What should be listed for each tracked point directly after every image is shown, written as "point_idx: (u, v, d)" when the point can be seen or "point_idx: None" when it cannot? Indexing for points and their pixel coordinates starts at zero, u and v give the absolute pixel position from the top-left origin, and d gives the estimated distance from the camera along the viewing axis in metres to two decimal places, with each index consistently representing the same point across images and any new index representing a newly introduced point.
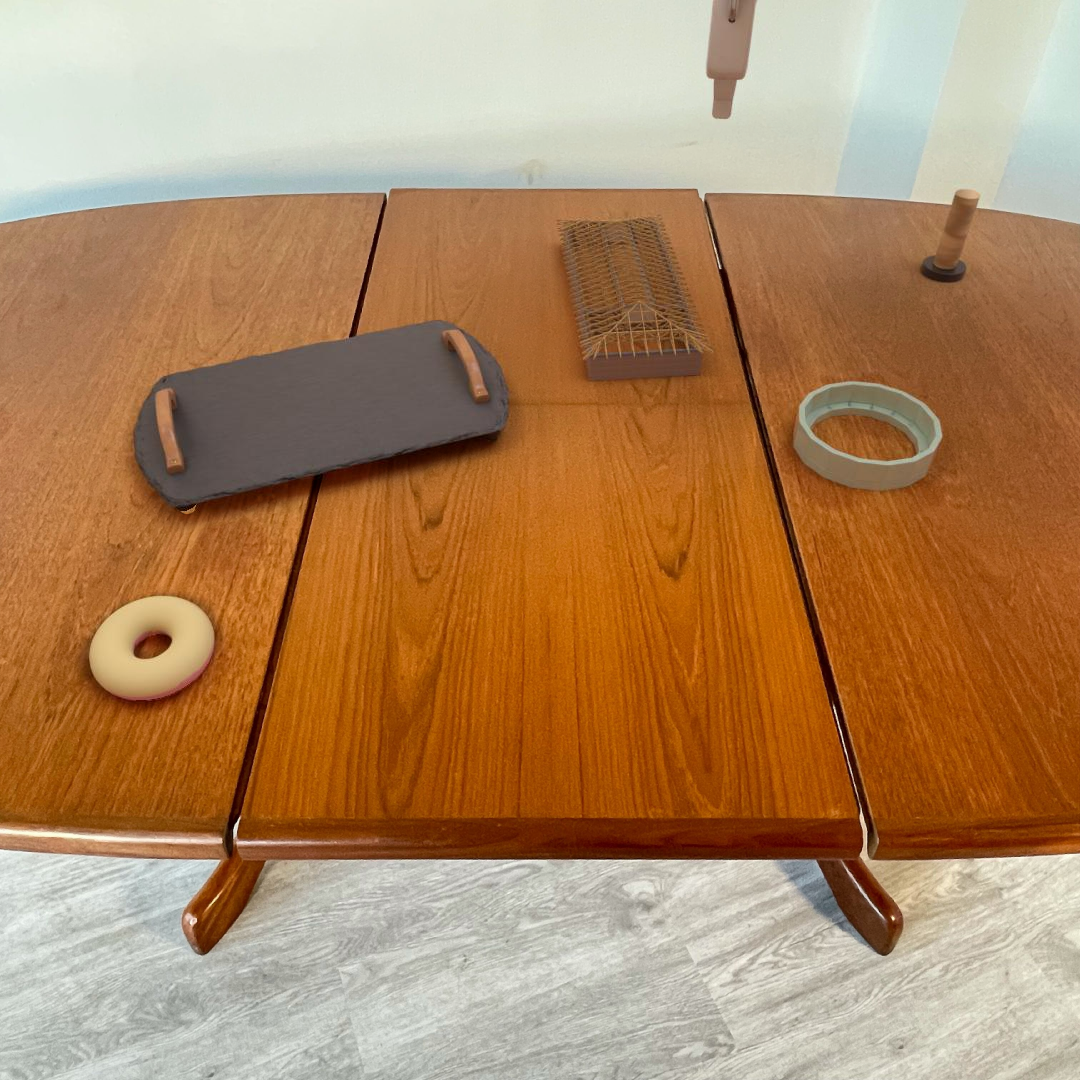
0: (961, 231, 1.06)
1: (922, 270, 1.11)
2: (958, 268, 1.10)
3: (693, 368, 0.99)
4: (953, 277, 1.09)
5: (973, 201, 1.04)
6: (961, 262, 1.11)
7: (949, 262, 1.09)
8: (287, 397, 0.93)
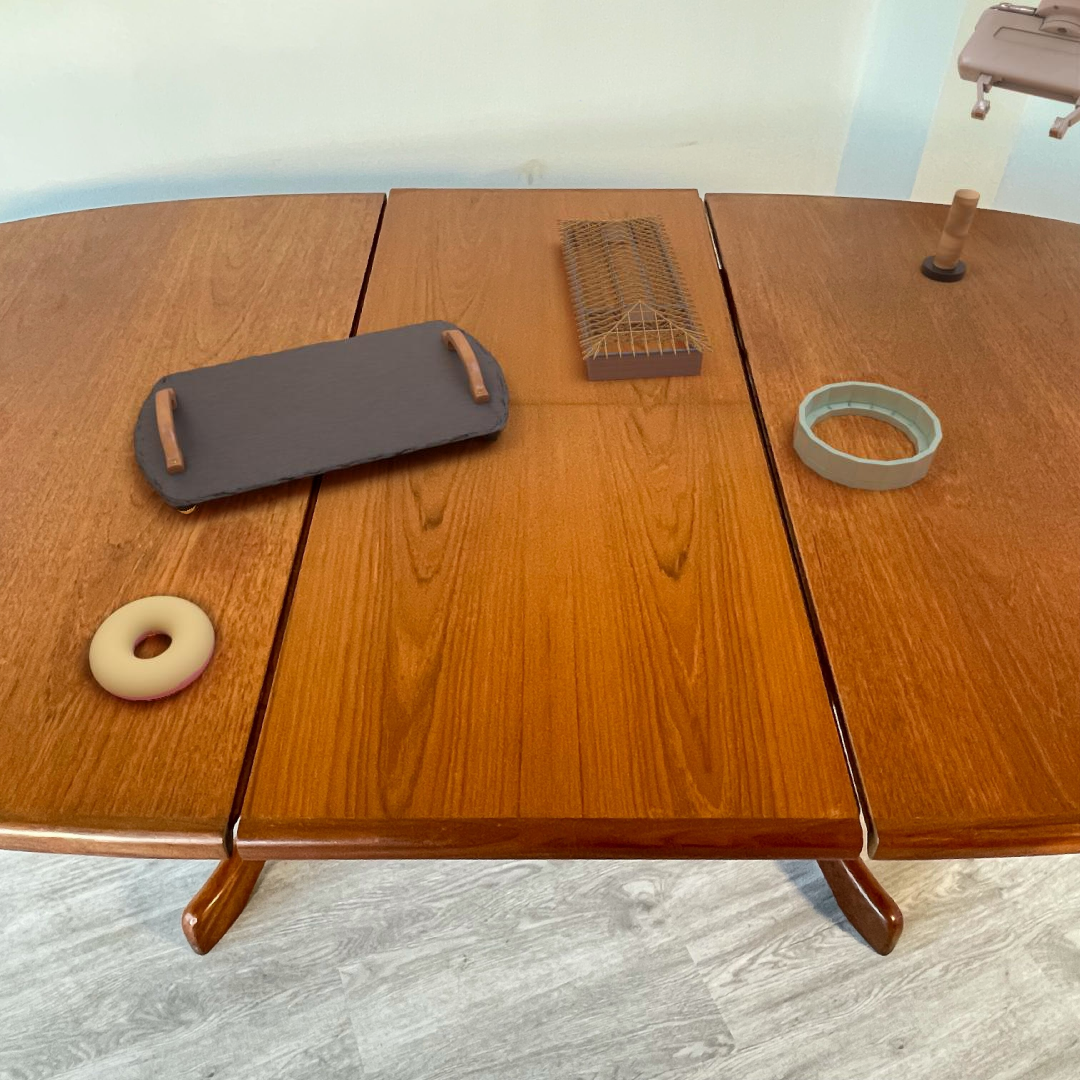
0: (961, 231, 1.06)
1: (922, 270, 1.11)
2: (958, 268, 1.10)
3: (693, 368, 0.99)
4: (953, 277, 1.09)
5: (973, 201, 1.04)
6: (961, 262, 1.11)
7: (949, 262, 1.09)
8: (287, 397, 0.93)
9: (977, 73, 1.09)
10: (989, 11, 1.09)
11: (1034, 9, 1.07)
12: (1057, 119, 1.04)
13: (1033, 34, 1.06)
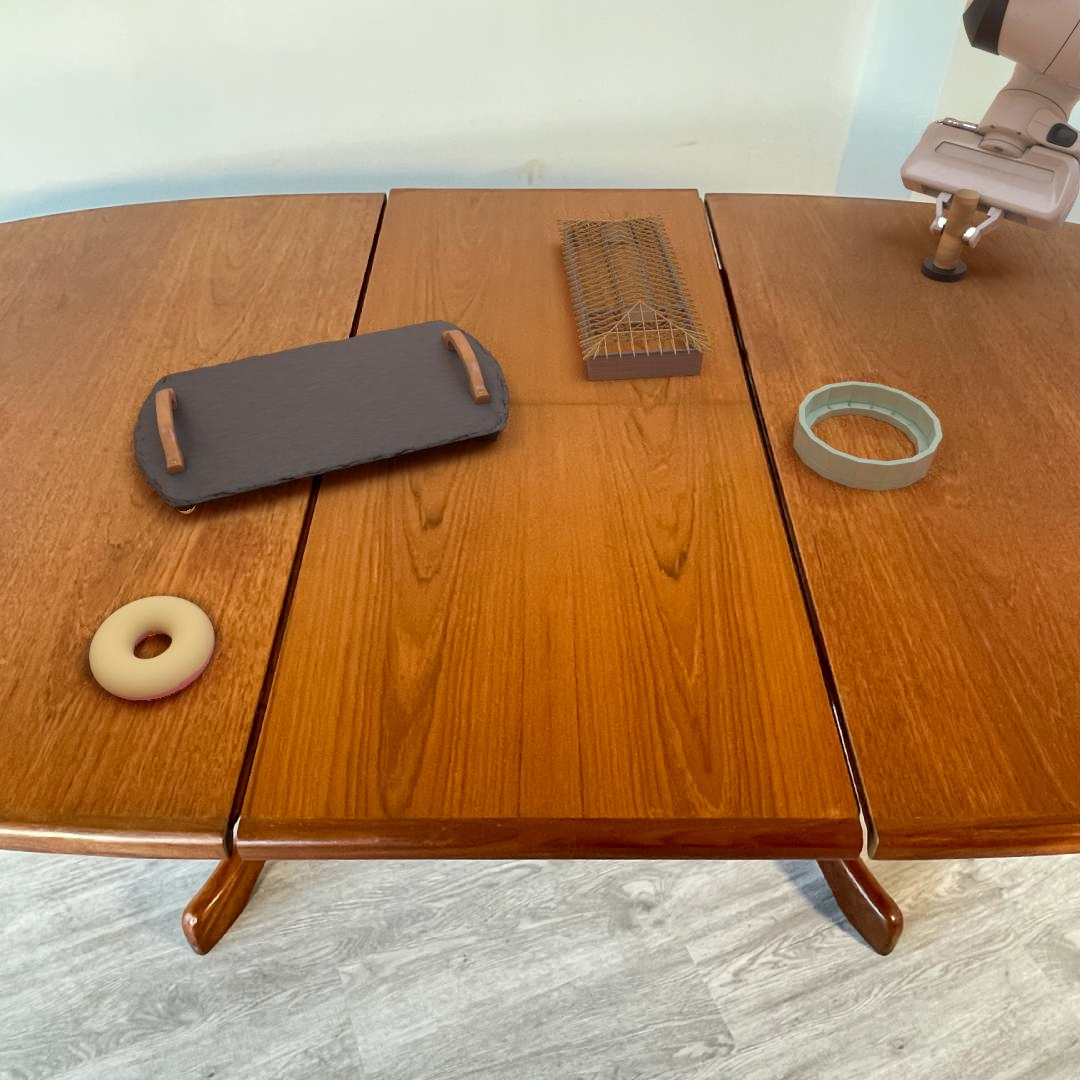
0: (960, 231, 1.06)
1: (922, 270, 1.11)
2: (958, 268, 1.10)
3: (693, 368, 0.99)
4: (953, 277, 1.09)
5: (973, 201, 1.04)
6: (961, 262, 1.11)
7: (949, 262, 1.09)
8: (287, 397, 0.93)
9: (918, 185, 1.10)
10: (934, 125, 1.11)
11: (976, 126, 1.08)
12: (969, 228, 1.06)
13: (972, 150, 1.07)
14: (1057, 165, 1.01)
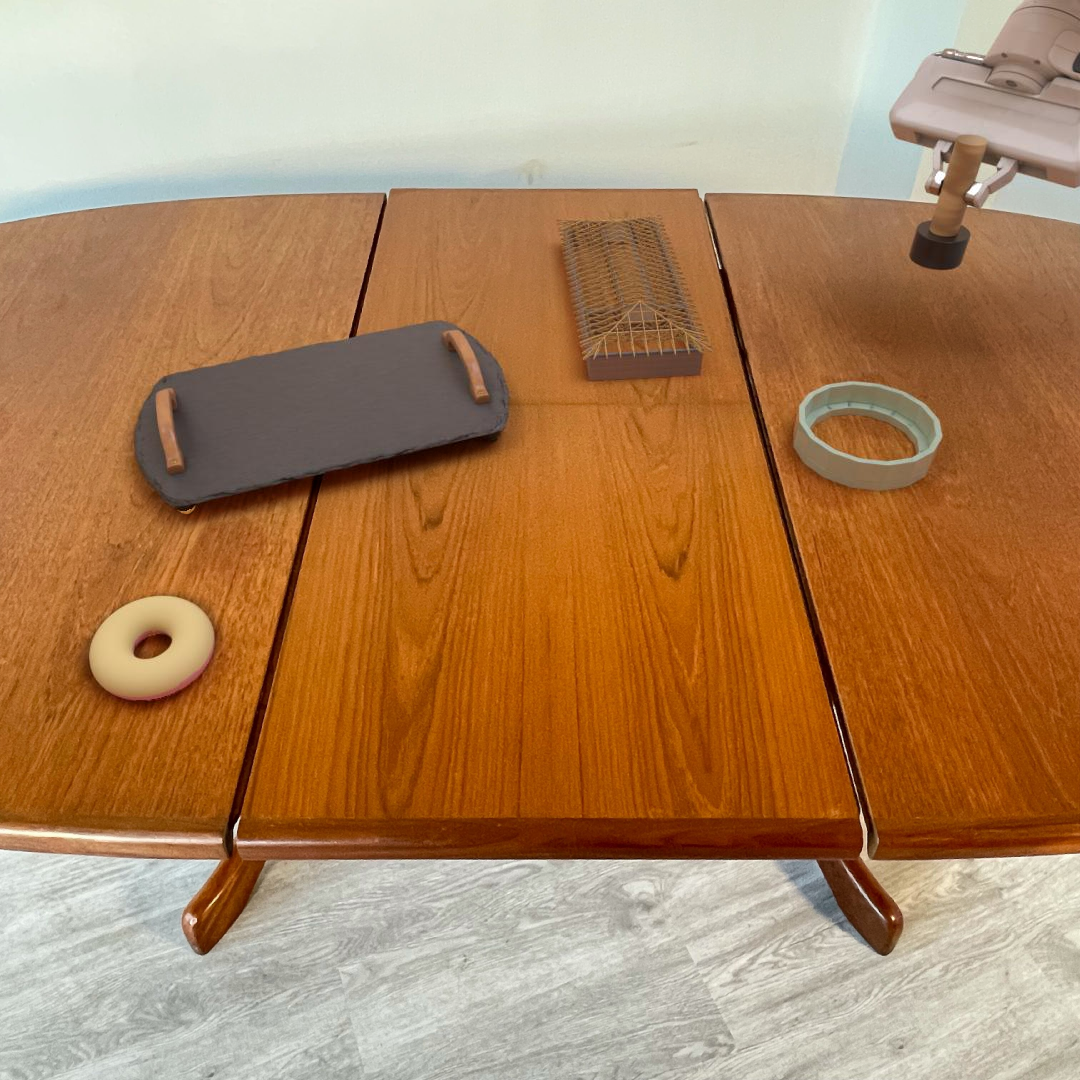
0: (963, 187, 0.85)
1: (915, 238, 0.90)
2: (960, 235, 0.89)
3: (693, 368, 0.99)
4: (954, 246, 0.88)
5: (979, 148, 0.82)
6: (964, 229, 0.90)
7: (949, 227, 0.88)
8: (287, 398, 0.93)
9: (910, 132, 0.89)
10: (931, 58, 0.89)
11: (983, 57, 0.87)
12: (974, 184, 0.85)
13: (978, 87, 0.85)
14: None
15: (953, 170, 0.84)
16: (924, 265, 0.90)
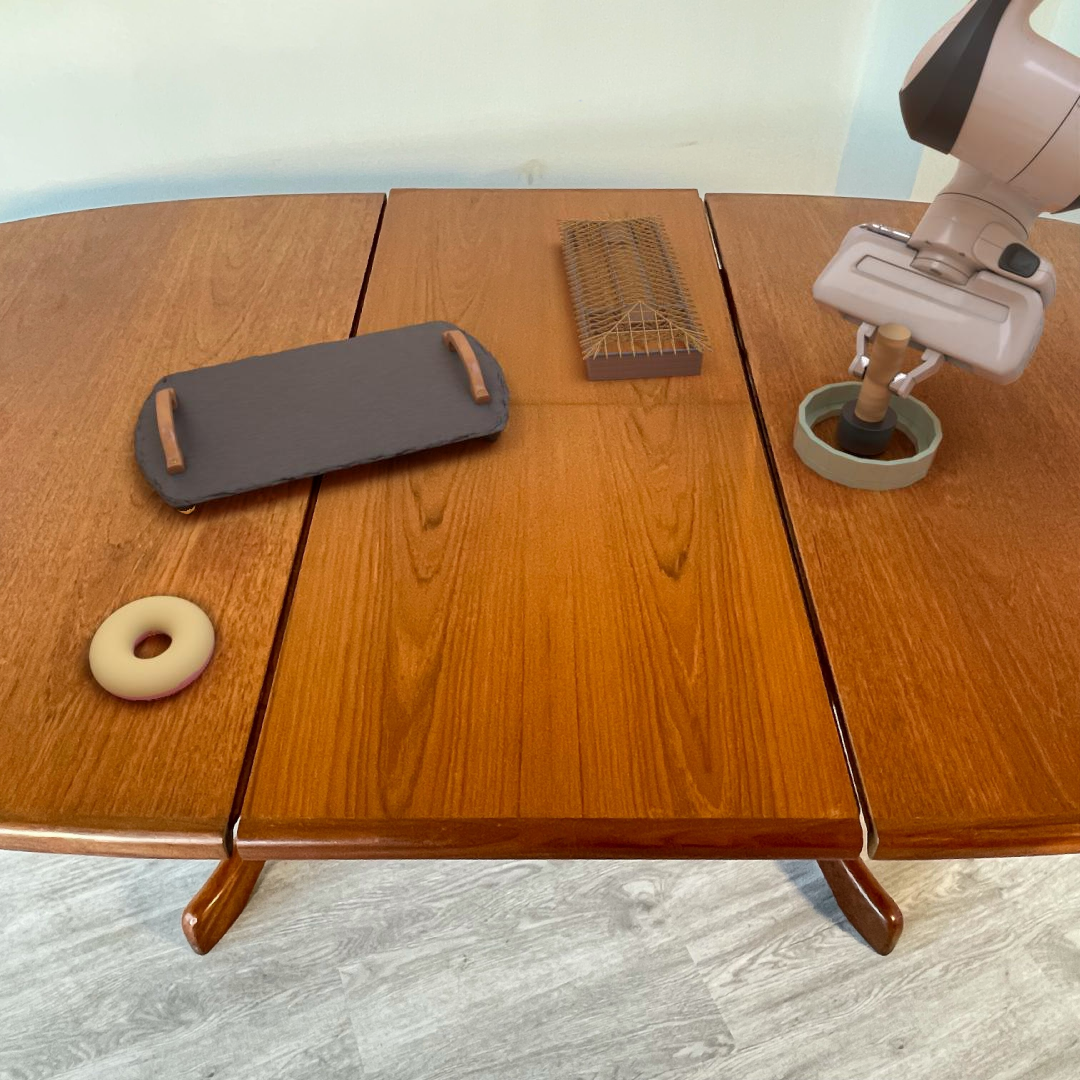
0: (887, 378, 0.80)
1: (840, 420, 0.85)
2: (886, 419, 0.83)
3: (693, 368, 0.99)
4: (879, 434, 0.83)
5: (901, 342, 0.77)
6: (891, 411, 0.84)
7: (874, 414, 0.82)
8: (287, 398, 0.93)
9: (834, 310, 0.84)
10: (856, 230, 0.84)
11: (909, 235, 0.81)
12: (898, 374, 0.80)
13: (903, 270, 0.80)
14: (1013, 300, 0.74)
15: (875, 360, 0.79)
16: (849, 449, 0.85)
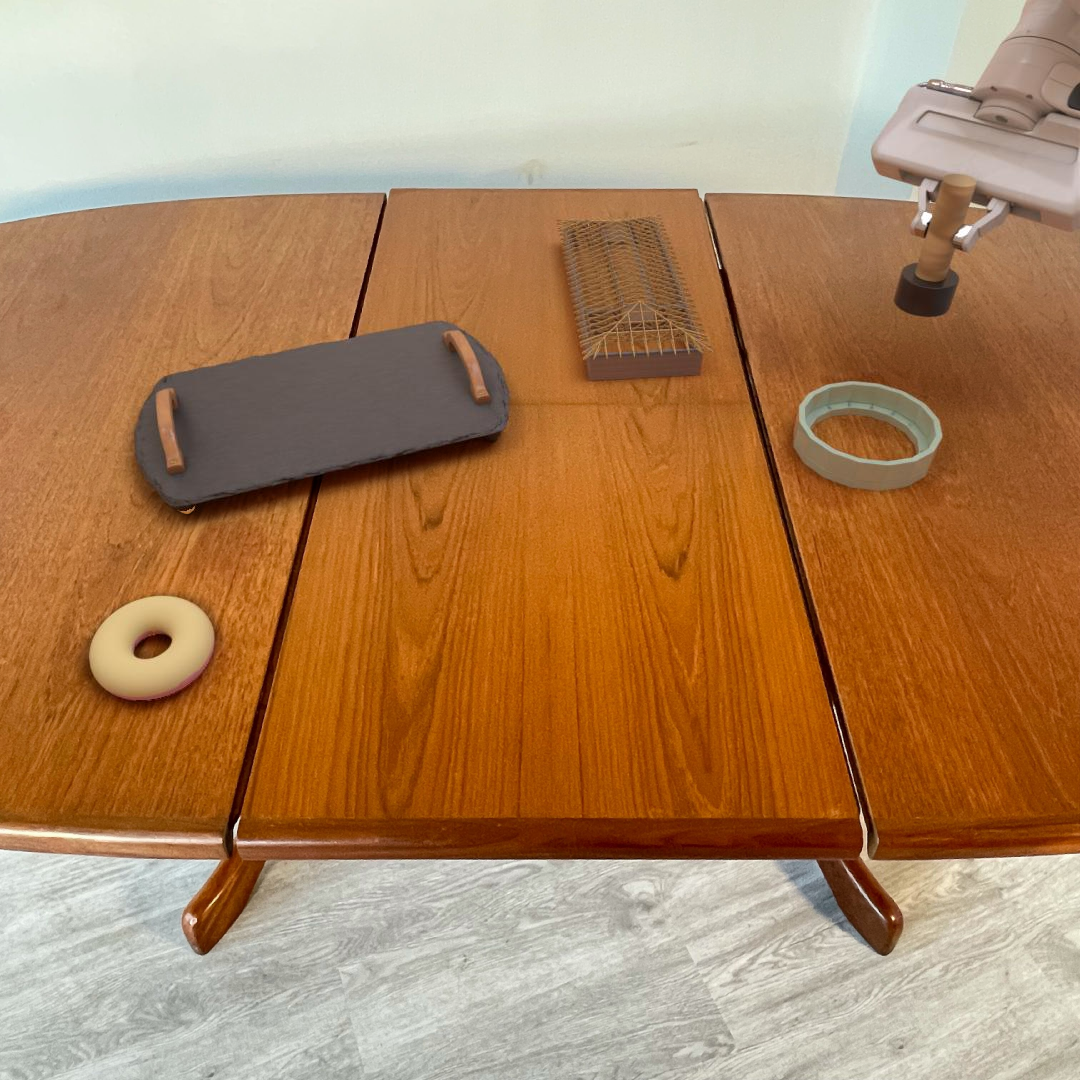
0: (951, 231, 0.79)
1: (900, 283, 0.84)
2: (948, 279, 0.82)
3: (693, 368, 0.99)
4: (941, 293, 0.82)
5: (967, 190, 0.76)
6: (952, 272, 0.83)
7: (936, 272, 0.81)
8: (287, 398, 0.93)
9: (894, 169, 0.83)
10: (915, 90, 0.83)
11: (971, 89, 0.80)
12: (962, 227, 0.79)
13: (966, 122, 0.79)
14: None
15: (940, 212, 0.78)
16: (910, 311, 0.84)
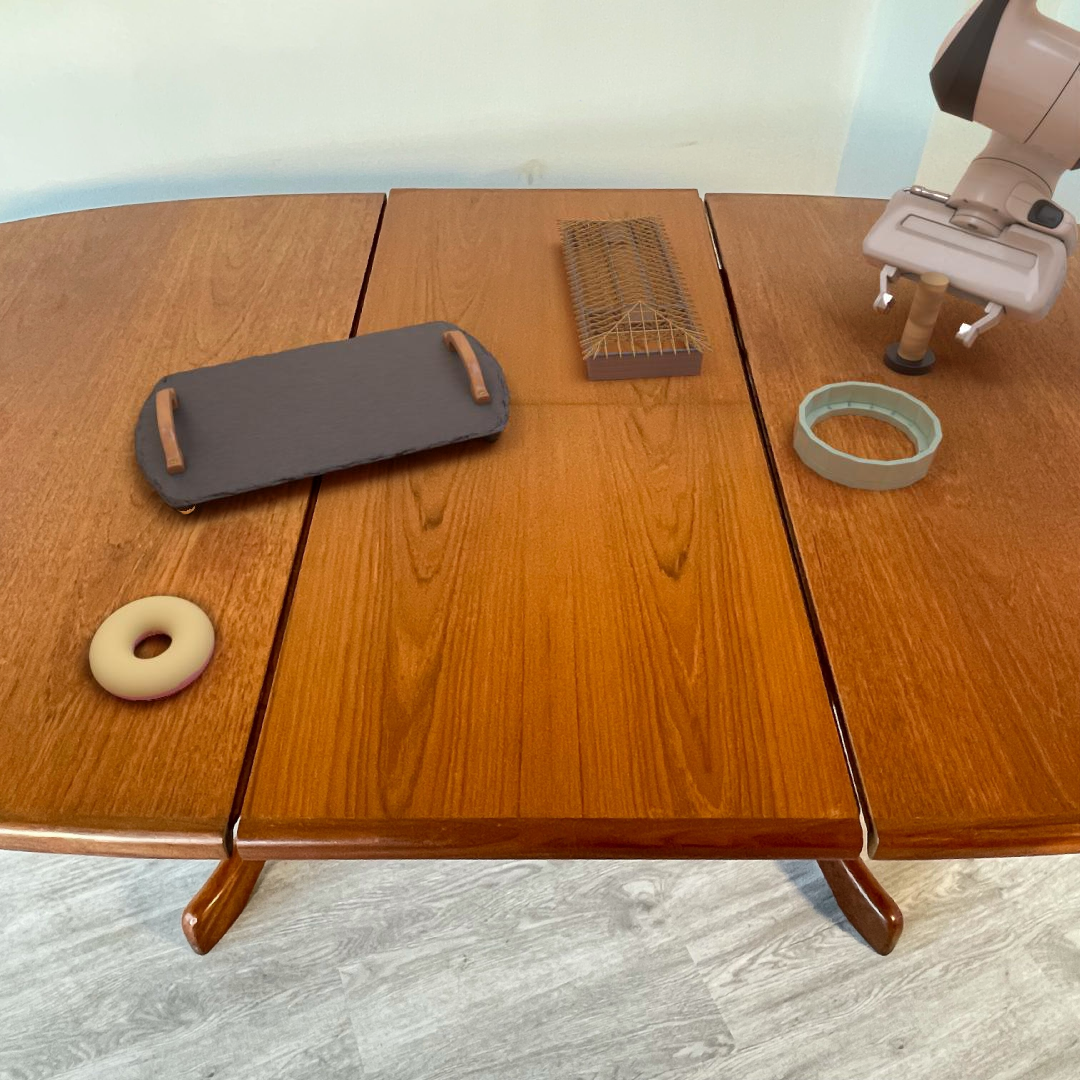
0: (927, 320, 0.92)
1: (885, 360, 0.97)
2: (926, 358, 0.96)
3: (693, 368, 0.99)
4: (920, 370, 0.95)
5: (941, 288, 0.89)
6: (929, 352, 0.96)
7: (915, 353, 0.95)
8: (287, 398, 0.93)
9: (881, 263, 0.96)
10: (900, 194, 0.96)
11: (948, 197, 0.93)
12: (963, 326, 0.90)
13: (943, 226, 0.92)
14: (1040, 249, 0.86)
15: (918, 304, 0.91)
16: None
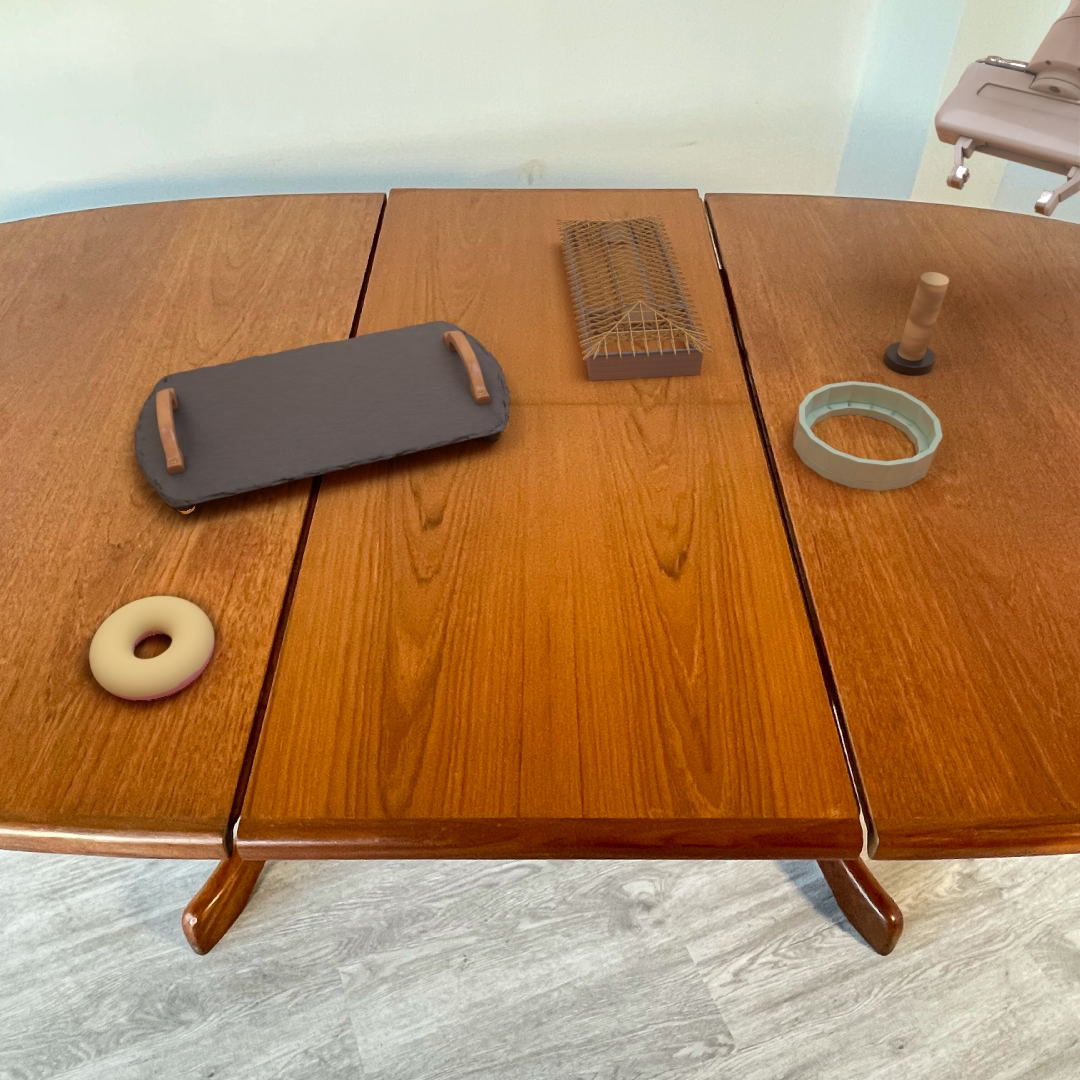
0: (927, 320, 0.92)
1: (885, 360, 0.97)
2: (926, 358, 0.96)
3: (693, 368, 0.99)
4: (920, 370, 0.95)
5: (941, 288, 0.89)
6: (929, 352, 0.96)
7: (915, 353, 0.95)
8: (287, 398, 0.93)
9: (956, 136, 0.93)
10: (975, 65, 0.94)
11: (1026, 64, 0.91)
12: (1044, 192, 0.88)
13: (1022, 93, 0.90)
14: None
15: (918, 304, 0.91)
16: None
